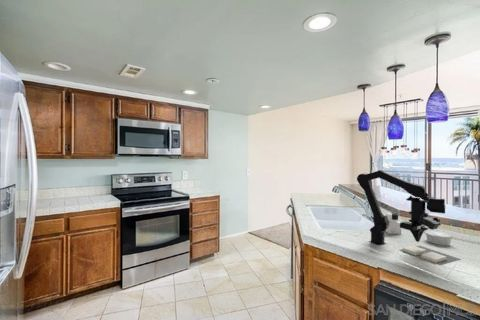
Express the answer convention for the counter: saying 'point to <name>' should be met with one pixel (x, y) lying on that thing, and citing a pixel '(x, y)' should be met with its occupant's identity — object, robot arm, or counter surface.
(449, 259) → the slate mat
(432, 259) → the cream angular block
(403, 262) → the counter surface
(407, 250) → the sage tile
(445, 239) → the ramekin
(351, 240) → the counter surface
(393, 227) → the medicine bottle
